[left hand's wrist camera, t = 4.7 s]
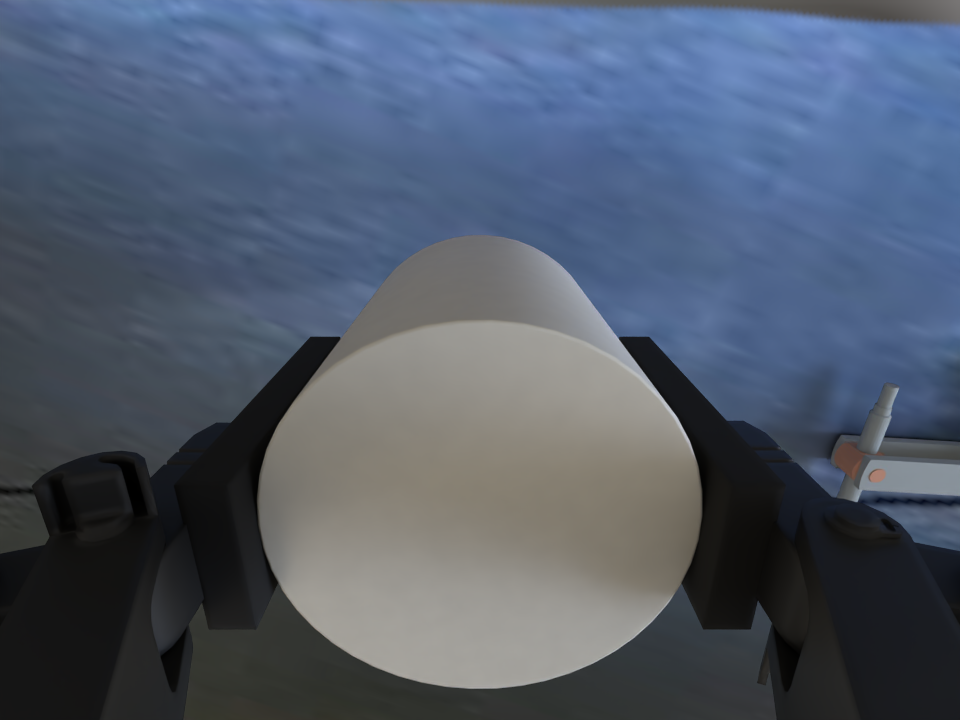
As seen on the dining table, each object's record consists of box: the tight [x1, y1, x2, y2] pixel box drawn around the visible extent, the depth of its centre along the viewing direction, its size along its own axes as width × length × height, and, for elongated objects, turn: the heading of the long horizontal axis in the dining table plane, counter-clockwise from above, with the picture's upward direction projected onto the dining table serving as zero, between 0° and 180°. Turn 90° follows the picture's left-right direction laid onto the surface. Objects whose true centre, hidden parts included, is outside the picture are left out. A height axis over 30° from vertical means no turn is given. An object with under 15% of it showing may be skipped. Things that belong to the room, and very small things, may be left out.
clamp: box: [831, 383, 960, 502], centre depth 24 cm, size 15×2×10 cm
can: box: [257, 235, 702, 689], centre depth 12 cm, size 7×7×8 cm
